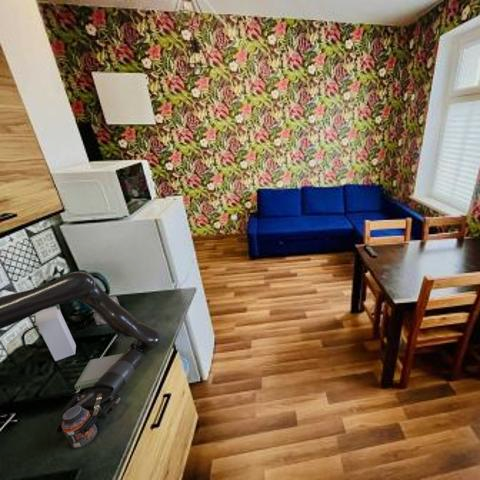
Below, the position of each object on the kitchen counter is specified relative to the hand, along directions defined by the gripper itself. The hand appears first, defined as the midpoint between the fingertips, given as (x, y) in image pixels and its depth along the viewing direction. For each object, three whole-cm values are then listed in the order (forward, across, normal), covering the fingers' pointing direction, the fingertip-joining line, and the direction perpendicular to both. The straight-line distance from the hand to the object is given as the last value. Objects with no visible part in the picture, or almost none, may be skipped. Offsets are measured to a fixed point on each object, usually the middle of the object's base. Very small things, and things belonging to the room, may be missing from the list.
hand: (69, 431), depth 73 cm
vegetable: (-45, -47, +7) cm, 65 cm away
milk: (-32, -34, +7) cm, 48 cm away
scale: (-24, -12, +7) cm, 28 cm away
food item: (-55, -34, +7) cm, 65 cm away
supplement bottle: (-2, 0, +7) cm, 8 cm away
